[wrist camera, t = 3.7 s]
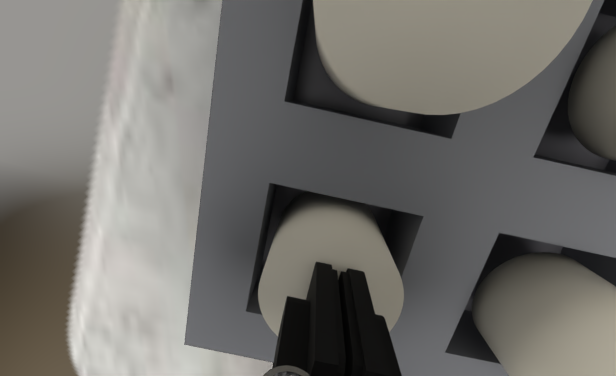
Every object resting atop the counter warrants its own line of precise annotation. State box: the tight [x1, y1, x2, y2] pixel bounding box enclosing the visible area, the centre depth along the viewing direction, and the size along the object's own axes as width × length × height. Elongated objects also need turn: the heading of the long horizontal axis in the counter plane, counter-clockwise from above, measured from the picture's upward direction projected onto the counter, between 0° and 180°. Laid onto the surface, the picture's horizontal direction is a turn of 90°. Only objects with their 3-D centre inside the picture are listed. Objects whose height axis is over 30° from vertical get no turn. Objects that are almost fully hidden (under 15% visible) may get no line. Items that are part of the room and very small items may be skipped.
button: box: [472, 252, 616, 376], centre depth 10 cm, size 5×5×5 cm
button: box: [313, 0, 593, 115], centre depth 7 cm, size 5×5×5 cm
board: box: [184, 0, 616, 376], centre depth 13 cm, size 20×20×4 cm
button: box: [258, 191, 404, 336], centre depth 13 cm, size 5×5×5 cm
